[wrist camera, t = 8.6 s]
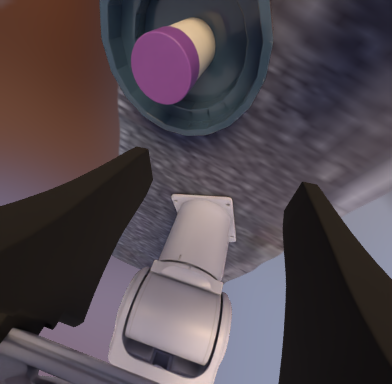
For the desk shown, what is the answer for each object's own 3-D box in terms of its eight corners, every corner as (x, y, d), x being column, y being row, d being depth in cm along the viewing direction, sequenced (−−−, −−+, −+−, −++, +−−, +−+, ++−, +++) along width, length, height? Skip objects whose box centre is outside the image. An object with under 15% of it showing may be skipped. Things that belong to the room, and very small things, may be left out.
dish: (268, 110, 15) (267, 132, 13) (156, 119, 19) (139, 138, 16) (281, -112, 9) (284, -147, 6) (102, -38, 12) (61, -43, 10)
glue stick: (219, 68, 14) (197, 102, 10) (179, 75, 15) (144, 107, 11) (213, 10, 12) (182, 23, 8) (167, 22, 13) (119, 39, 9)
